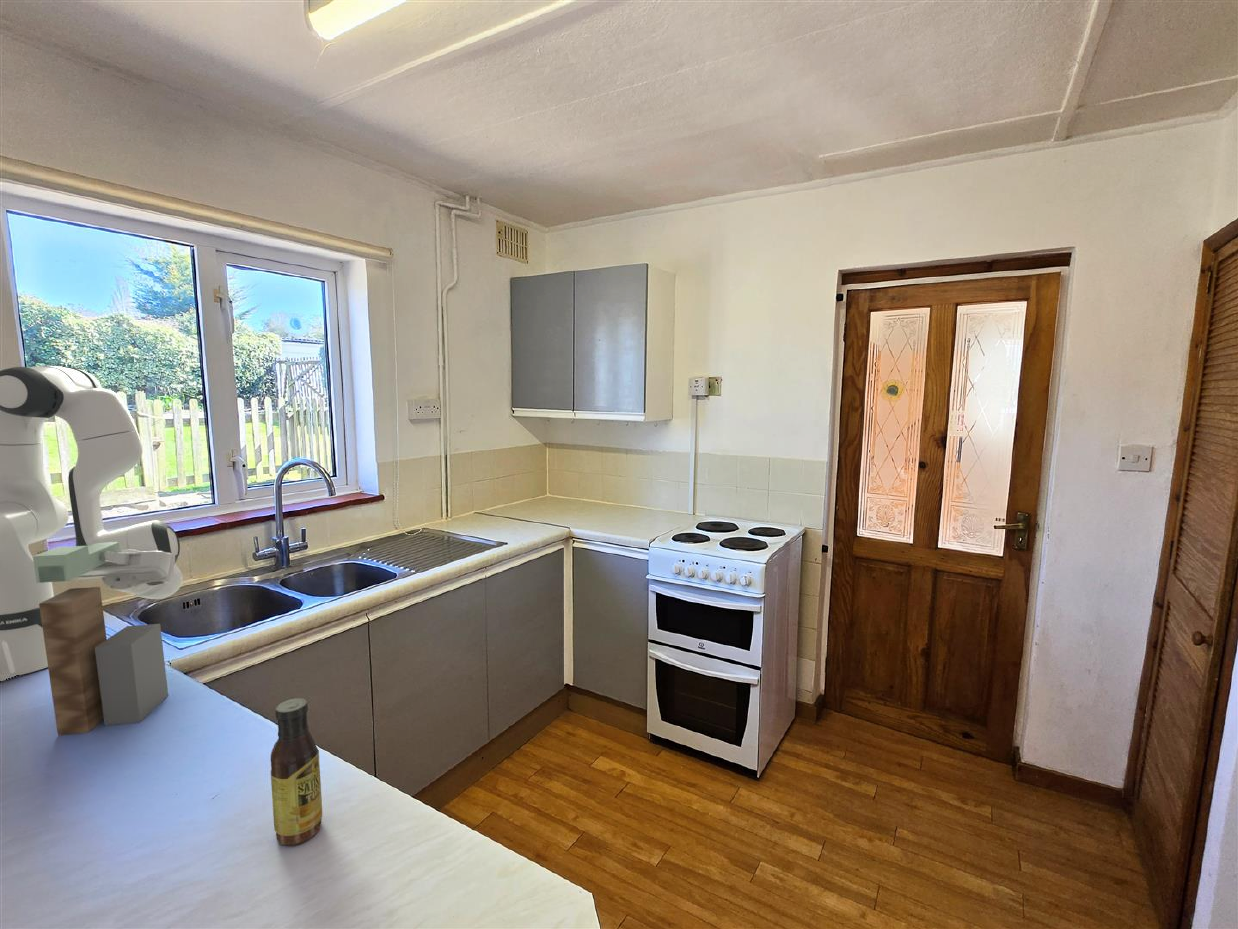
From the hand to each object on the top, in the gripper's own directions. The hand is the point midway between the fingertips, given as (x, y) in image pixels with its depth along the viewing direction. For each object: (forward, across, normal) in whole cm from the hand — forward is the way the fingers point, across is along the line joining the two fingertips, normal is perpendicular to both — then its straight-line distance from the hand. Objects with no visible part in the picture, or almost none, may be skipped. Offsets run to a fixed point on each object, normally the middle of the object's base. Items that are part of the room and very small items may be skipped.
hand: (87, 556), depth 115 cm
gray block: (-13, +7, +29) cm, 33 cm away
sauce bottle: (+23, +50, +50) cm, 74 cm away
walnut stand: (-11, 0, +31) cm, 32 cm away
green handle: (0, 0, +3) cm, 3 cm away
